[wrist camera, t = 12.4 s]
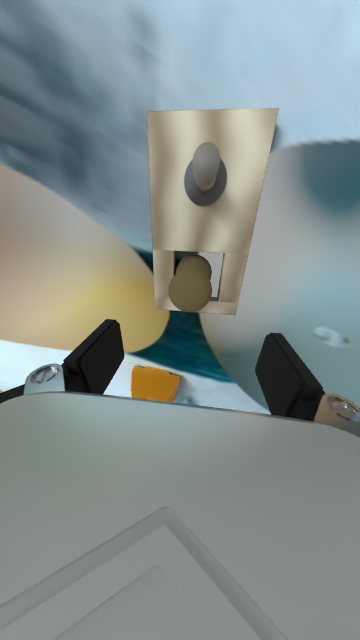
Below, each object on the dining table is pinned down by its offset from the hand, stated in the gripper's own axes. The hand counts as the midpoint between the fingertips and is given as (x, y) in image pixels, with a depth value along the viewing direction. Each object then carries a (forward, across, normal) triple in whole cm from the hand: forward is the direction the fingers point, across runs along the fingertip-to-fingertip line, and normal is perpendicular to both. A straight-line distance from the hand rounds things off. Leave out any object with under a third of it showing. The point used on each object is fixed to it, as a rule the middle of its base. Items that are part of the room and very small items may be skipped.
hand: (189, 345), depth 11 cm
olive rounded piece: (+20, 0, 0) cm, 20 cm away
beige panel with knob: (+20, 0, -6) cm, 21 cm away
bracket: (+20, +8, +26) cm, 34 cm away
